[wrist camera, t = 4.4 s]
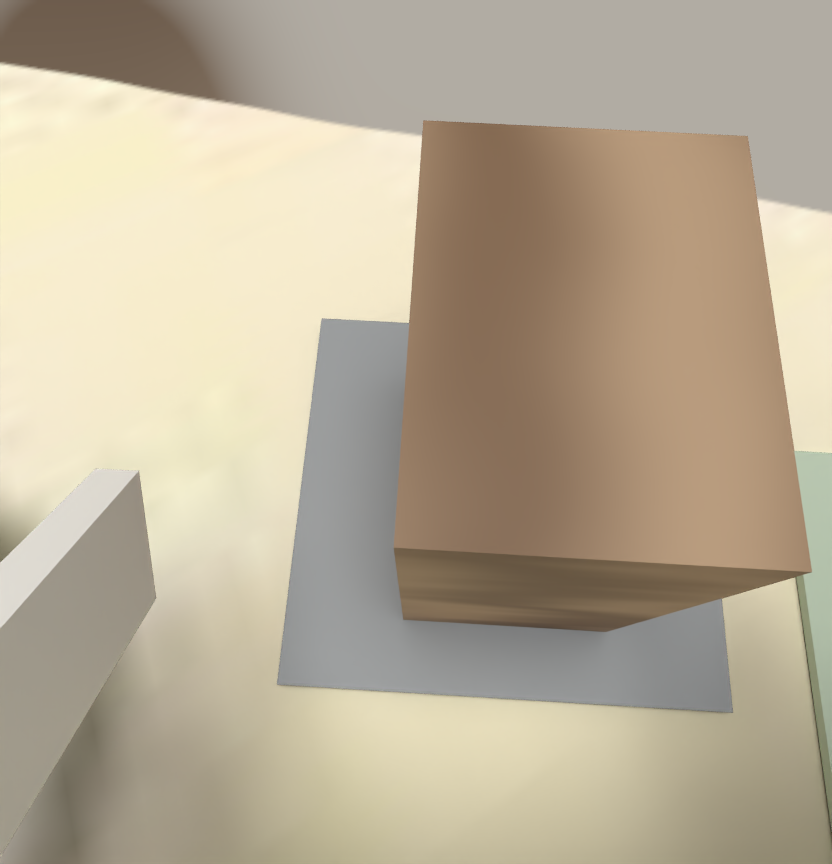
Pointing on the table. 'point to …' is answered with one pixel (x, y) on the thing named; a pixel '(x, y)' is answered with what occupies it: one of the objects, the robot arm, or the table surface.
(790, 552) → the walnut block
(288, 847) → the table surface
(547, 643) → the gray tile
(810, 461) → the rubber mat
